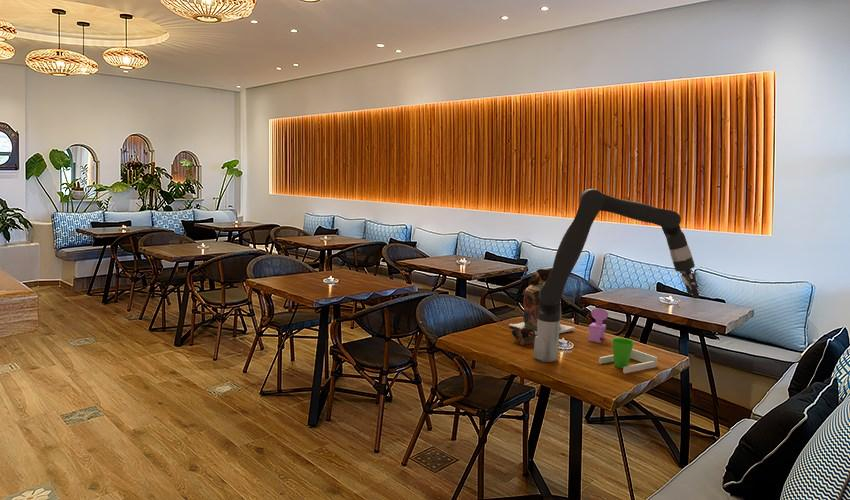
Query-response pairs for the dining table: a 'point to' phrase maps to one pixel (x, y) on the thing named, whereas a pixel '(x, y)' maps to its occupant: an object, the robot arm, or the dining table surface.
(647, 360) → the bay
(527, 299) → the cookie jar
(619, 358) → the cup
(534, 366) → the dining table surface
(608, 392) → the dining table surface
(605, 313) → the toy chair
